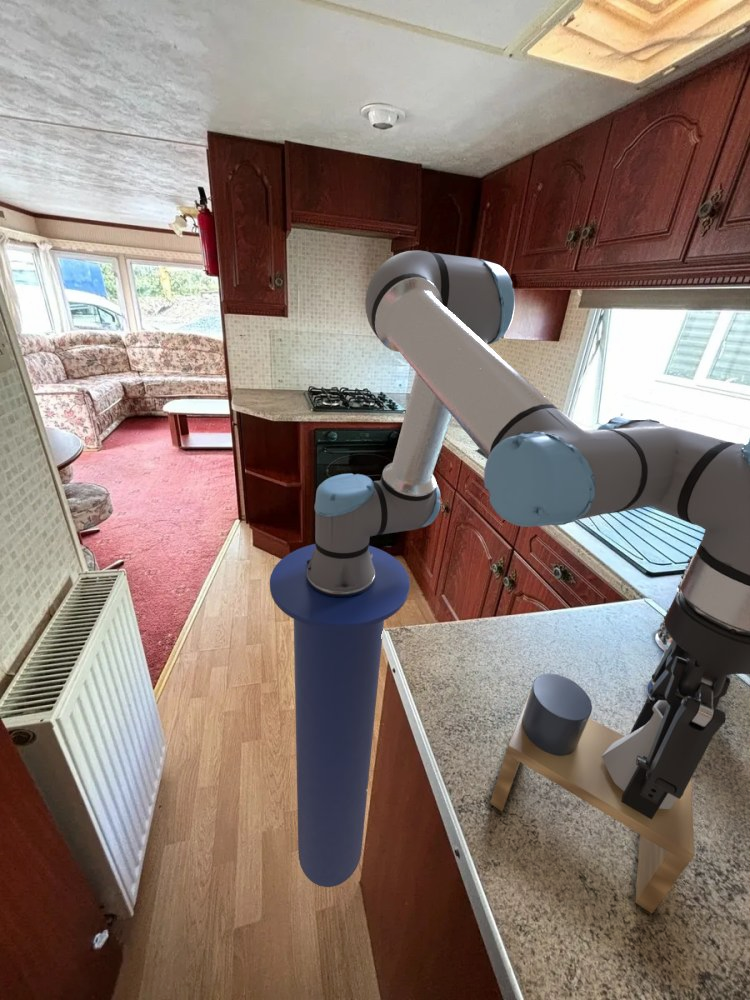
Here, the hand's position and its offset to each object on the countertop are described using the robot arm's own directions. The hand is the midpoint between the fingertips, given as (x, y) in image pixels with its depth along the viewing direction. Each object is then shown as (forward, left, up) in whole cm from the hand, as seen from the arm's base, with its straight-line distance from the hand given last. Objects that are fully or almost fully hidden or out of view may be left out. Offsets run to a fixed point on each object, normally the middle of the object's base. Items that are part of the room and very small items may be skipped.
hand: (639, 773), depth 44 cm
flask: (0, 0, 0) cm, 0 cm away
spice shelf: (-4, 0, -12) cm, 13 cm away
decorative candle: (+8, +46, -12) cm, 48 cm away
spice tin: (-9, 0, -1) cm, 9 cm away
